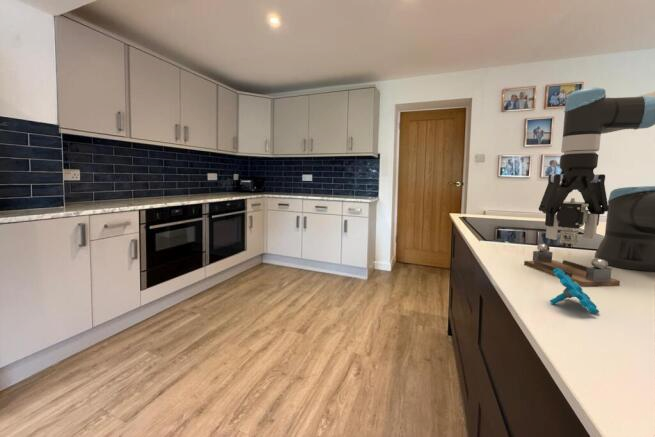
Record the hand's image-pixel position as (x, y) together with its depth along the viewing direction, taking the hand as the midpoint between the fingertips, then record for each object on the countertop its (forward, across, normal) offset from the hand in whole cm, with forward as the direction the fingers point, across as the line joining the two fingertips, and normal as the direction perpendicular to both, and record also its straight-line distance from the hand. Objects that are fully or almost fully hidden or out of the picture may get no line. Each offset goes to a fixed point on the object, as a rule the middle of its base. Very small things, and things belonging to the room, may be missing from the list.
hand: (570, 238), depth 80 cm
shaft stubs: (+9, 0, 0) cm, 9 cm away
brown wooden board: (+10, 0, 0) cm, 10 cm away
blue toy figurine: (+10, +17, +20) cm, 28 cm away
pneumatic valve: (+2, 0, 0) cm, 2 cm away
